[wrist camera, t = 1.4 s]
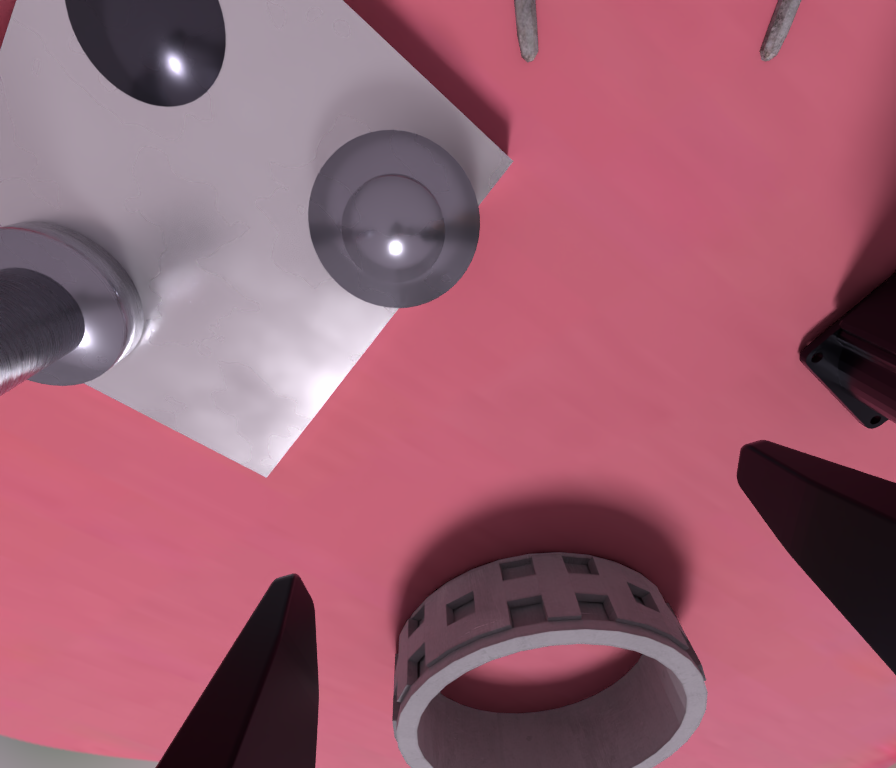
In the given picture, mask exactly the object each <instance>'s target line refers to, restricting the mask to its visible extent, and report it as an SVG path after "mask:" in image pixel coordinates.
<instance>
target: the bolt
mask: <svg viewBox="0 0 896 768" xmlns="http://www.w3.org/2000/svg"><path fill="white" fill-rule="evenodd" d="M143 323H144V314H143V307H142V302H141V299H140V296H139V293H138V291H137V289H136V287H135V285H134V283H133V281H132V279H131V278H130V276H129V275H128V273H127V272H126V271H125V269H124V268H123V267H122V266H121V264H120V263H119V262H118V261H117V260H116V259H115V258H114V257H113V256H112V255H111V254H110V253H109V252H107V251H106V250H105V249H104V248H103V247H101V246H100V245H98V244H97V243H95V242H94V241H93V240H91V239H89V238H87V237H86V236H84V235H82V234H80V233H78V232H76V231H73V230H71V229H69V228H66V227H62V226H59V225H56V224H51V223H45V222H21V223H16V224H11V225H7V226H2V227H0V396H1V395H3V394H5V393H6V392H8V391H9V390H11V389H13V388H14V387H16V386H17V385H19V384H20V383H22V382H24V381H25V380H30V381H33V382H37V383H41V384H48V385H58V386H67V385H77V384H82V383H85V382H88V381H91V380H93V379H95V378H97V377H99V376H101V375H102V374H103V373H105V372H106V371H108V370H109V369H110V368H111V367H113V366H114V365H115V364H117V363H118V362H119V361H121V360H122V359H123V358H125V357H126V356H127V355H128V354H129V353H130V352H131V351H132V350H133V349H134V348H135V346H136V345H137V343H138V342H139V339H140V337H141V334H142V330H143Z"/></svg>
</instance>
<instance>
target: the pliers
mask: <svg viewBox="0 0 896 768" xmlns="http://www.w3.org/2000/svg"><path fill="white" fill-rule="evenodd" d="M800 2H801V0H779V1H778V4H777V6H776V9H775V11H774V14H773V17H772V19H771V22H770V24H769V27H768V30H767V33H766V36H765V38H764V41H763V44H762V47H761V49H760V55H761V59H762V60H763V61H769V60H771V59H772V58H774V57H775V56H776V55H777V54H778V52H779V50H780V48H781V46H782V44H783V42H784V40H785V38H786V36H787V34H788V32H789V29H790V27H791V24H792V22H793V20H794V17H795V15H796V12H797V10H798V7H799V5H800ZM514 4H515V15H516V26H517V36H518V41H519V46H520V51H521V56H522V58H523V59H524V60H526V61H527V62H530V61H533V60H534V58H535V56H536V55H537V53H538V36H537V18H536V4H535V0H514Z"/></svg>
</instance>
